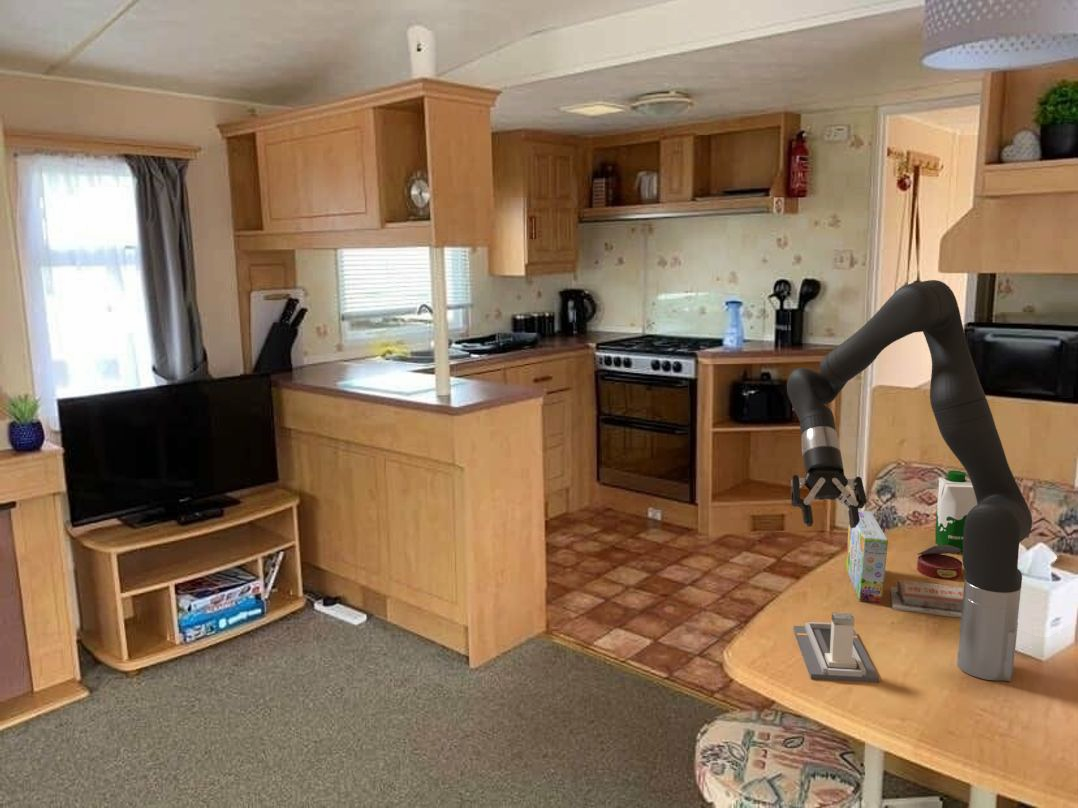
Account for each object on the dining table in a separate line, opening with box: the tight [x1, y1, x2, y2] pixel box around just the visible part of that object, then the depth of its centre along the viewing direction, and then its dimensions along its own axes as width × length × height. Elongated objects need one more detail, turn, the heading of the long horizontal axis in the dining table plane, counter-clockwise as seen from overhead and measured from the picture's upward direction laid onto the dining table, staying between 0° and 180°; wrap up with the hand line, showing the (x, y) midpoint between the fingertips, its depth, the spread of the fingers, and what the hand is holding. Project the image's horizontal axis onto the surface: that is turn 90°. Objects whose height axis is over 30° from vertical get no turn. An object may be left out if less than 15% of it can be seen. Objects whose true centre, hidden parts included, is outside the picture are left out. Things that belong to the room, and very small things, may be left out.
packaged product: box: [890, 579, 964, 619], centre depth 184 cm, size 18×5×10 cm
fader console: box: [792, 621, 880, 684], centre depth 163 cm, size 12×20×2 cm, turn 172°
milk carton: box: [934, 470, 977, 554], centre depth 216 cm, size 9×9×20 cm
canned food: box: [916, 545, 963, 581], centre depth 202 cm, size 11×10×10 cm
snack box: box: [845, 510, 889, 603], centre depth 195 cm, size 21×6×15 cm, turn 168°
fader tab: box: [825, 612, 857, 669], centre depth 156 cm, size 5×4×10 cm
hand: (832, 525), depth 164 cm, fingers open, 8 cm apart
